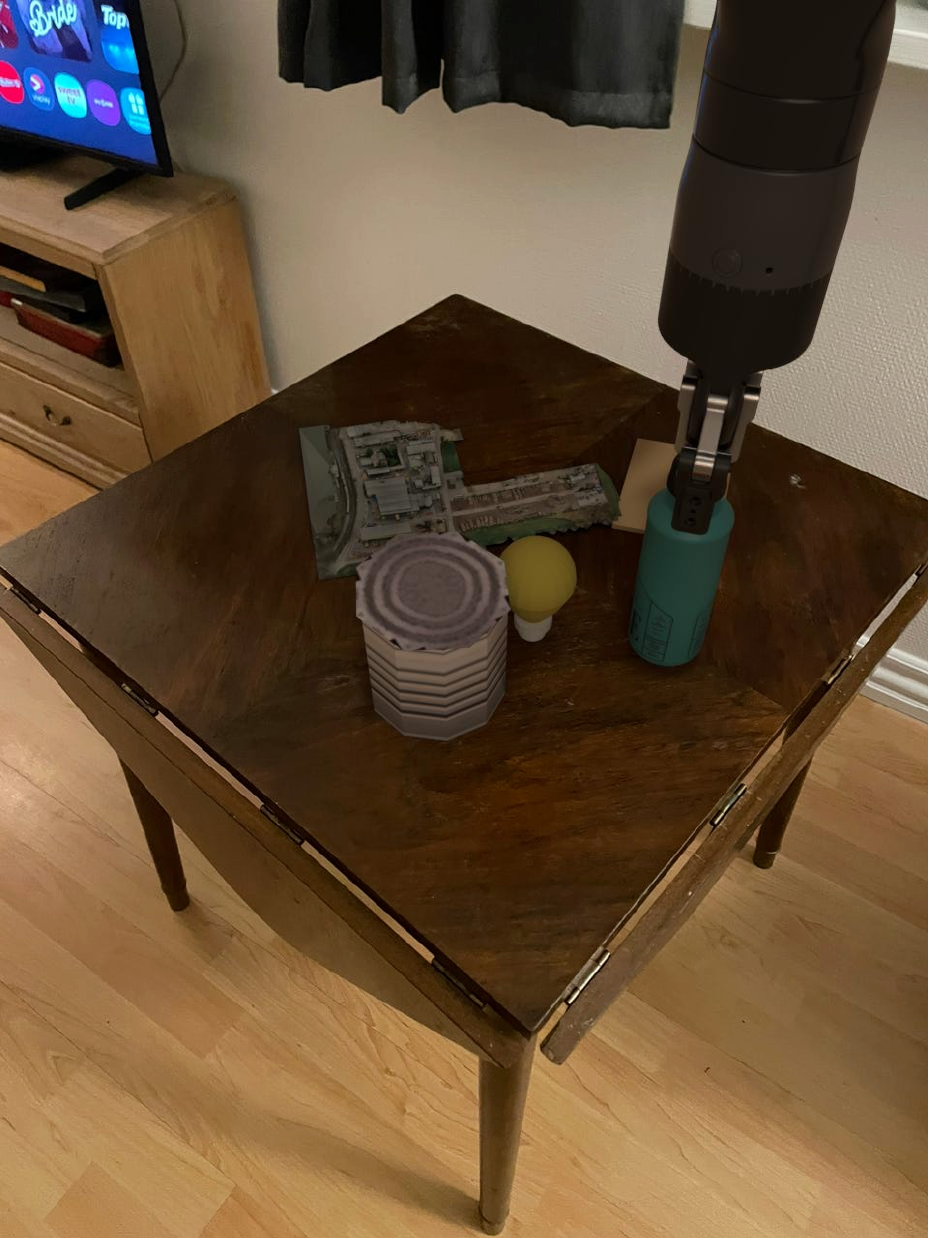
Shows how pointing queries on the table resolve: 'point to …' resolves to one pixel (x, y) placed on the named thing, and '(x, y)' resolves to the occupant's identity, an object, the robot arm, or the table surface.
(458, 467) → the model
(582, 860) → the table surface
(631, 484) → the mat
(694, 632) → the beverage bottle
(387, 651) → the can
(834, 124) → the robot arm
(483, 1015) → the table surface
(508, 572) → the light bulb
